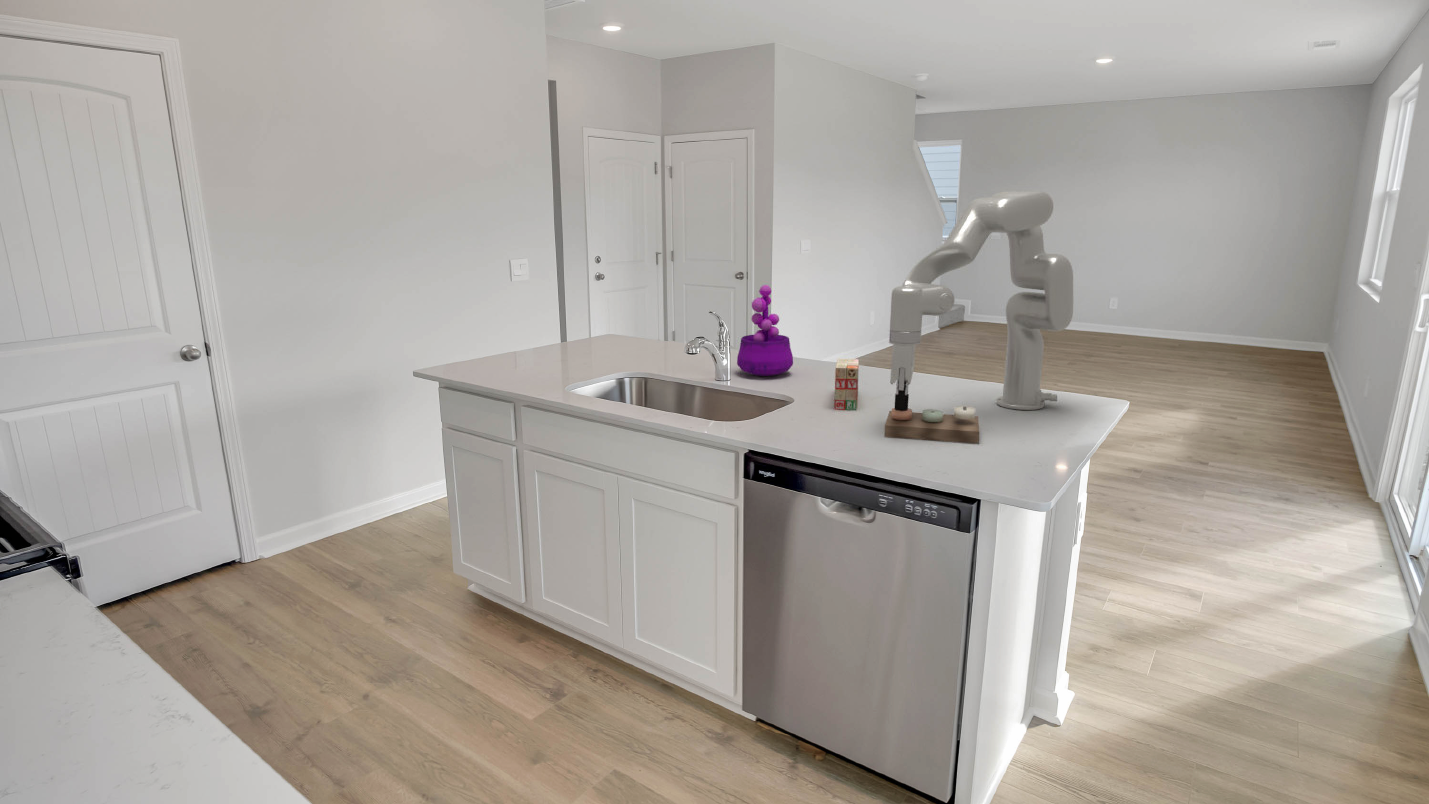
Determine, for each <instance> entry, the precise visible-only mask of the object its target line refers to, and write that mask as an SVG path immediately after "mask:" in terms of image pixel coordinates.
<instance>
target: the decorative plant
mask: <svg viewBox="0 0 1429 804" xmlns="http://www.w3.org/2000/svg"><path fill="white" fill-rule="evenodd" d="M758 292H759V295H761V297H756V298H754V299H753V300H752V302H751V308H752V310H753V311H754V312H756V313H753V314H752V315H751V321H752V323H753V324H754V325H757V327H758V328H759V330H757V331H756V332H755V333H754V334H748V335H744V336H742V337H741V338H740V345H739V349H738V354H737V360H736V365H737V366H738V367H739V369H740V370H741V371H743V372H745V373H747V374H750V375H753V376H759V377H760V376H761V377H770V376H771V377H772V376H778V375H779V374H783V373H786V372H788V371H789V370H790V369H791V368H792V367H793V365H794V355H793V352H792V349H791V343H790V338H789V336H787V335H782V334H780V330H779V328H778V327H776V325H778V324H779V321H780V316H779V315H778V314H776V313H770V314H769V305H770V304H771V303H772V299H771V297H770V295H771V294H772V290H771V287H770V285H767V284H764V285H762V286H760V288H759V290H758Z"/></svg>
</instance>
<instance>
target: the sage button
mask: <svg viewBox="0 0 1429 804" xmlns="http://www.w3.org/2000/svg"><path fill="white" fill-rule="evenodd" d="M921 413H922V420H923V421H926V422H942V421H943V414H944V411H943V410H939V409H931V408H930V409H929V408H928V409H924V410H922V411H921Z"/></svg>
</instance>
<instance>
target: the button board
mask: <svg viewBox="0 0 1429 804" xmlns="http://www.w3.org/2000/svg"><path fill="white" fill-rule="evenodd" d="M891 414H892V410H889V412H888V415H887V418H886V421H885V423H884V435H883V436H884V438H894V439H907V440H908V439H909V440H910V439H911V440H922V441H934V442H936V441H937V442H952V443H963V444H964V443H965V444H975V443H978V444H979V442H980V423H979V416H976V415H975V418H974V419H959V418H956V417H954V414H944V413H943V421H942V422H926V421H923V420H922V412H914V411H912V419H910V420H896V419H893V418H891Z"/></svg>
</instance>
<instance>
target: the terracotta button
mask: <svg viewBox="0 0 1429 804" xmlns="http://www.w3.org/2000/svg"><path fill="white" fill-rule="evenodd" d="M894 408H895V407H893V408H891V411H892V414H891V418H893V419H896V420H910V419H912V412H913V410H912V409H911V408H909V407H908V410H907V411H901V410H895V409H894Z"/></svg>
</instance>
